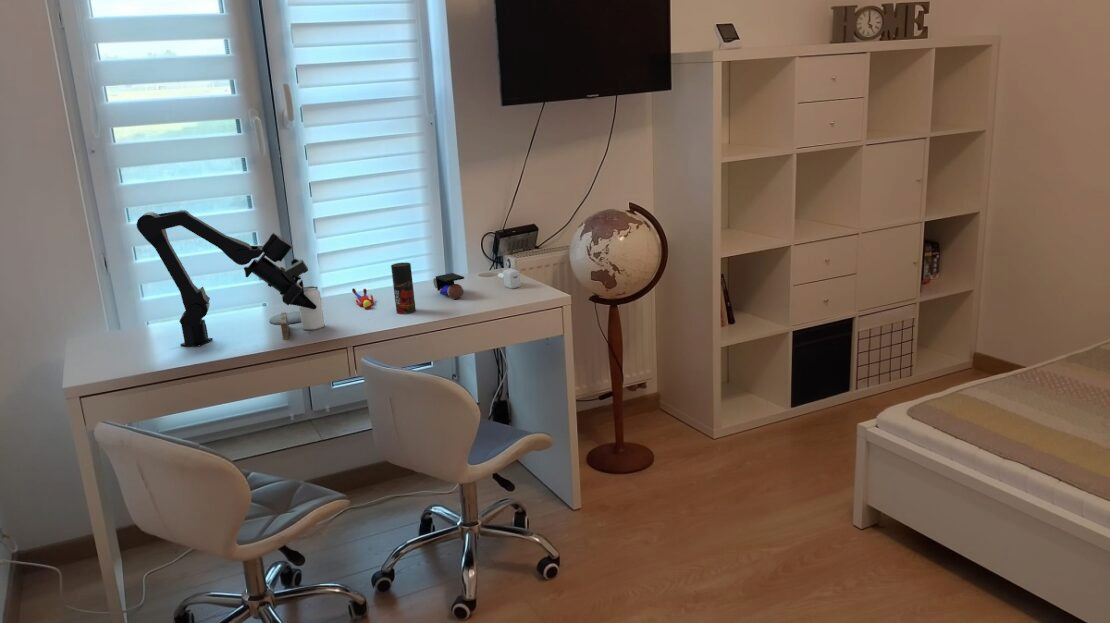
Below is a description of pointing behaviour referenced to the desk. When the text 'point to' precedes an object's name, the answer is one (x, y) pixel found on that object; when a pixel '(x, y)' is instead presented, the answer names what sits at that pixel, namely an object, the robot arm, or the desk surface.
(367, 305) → the character figure
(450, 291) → the figurine character
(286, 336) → the partition
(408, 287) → the deodorant
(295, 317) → the pad
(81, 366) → the desk surface
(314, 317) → the can
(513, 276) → the power adapter
